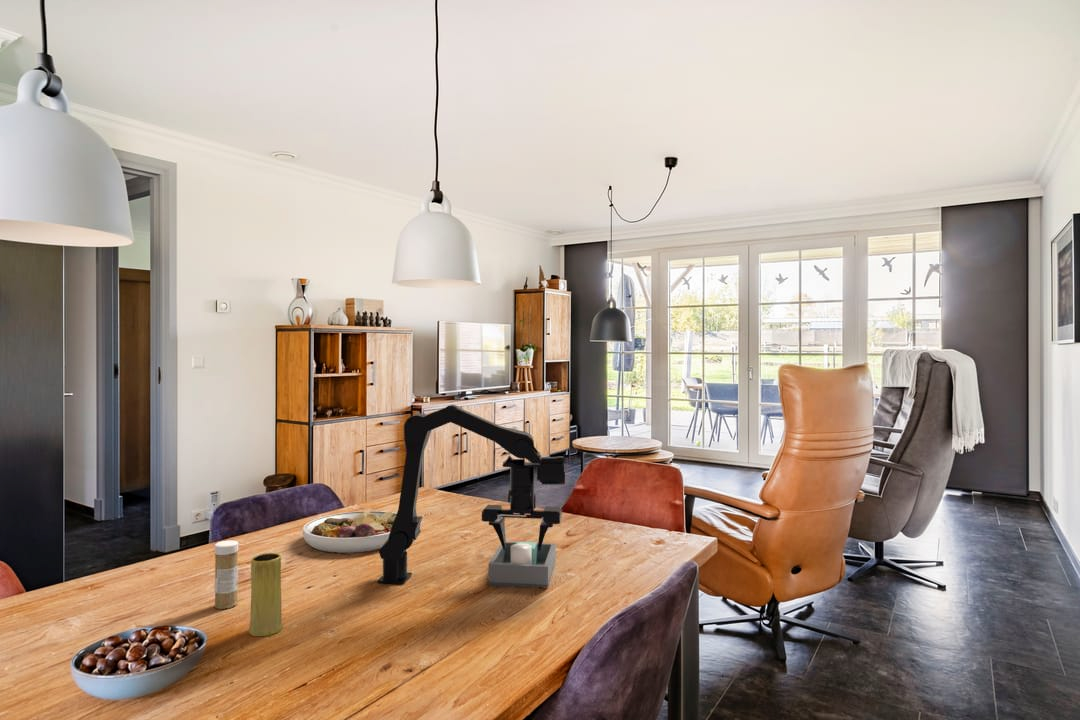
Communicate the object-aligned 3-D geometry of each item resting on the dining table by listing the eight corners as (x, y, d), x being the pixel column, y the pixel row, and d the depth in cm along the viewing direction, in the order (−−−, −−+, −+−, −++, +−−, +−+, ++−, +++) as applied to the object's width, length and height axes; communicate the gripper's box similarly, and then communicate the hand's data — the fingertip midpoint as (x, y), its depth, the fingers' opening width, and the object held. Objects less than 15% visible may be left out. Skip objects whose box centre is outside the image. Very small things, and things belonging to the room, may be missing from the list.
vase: (245, 639, 117) (246, 563, 117) (251, 625, 123) (252, 553, 123) (280, 635, 118) (280, 560, 118) (284, 622, 124) (285, 551, 124)
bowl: (297, 533, 187) (297, 507, 187) (396, 522, 201) (396, 497, 201) (309, 563, 161) (309, 532, 161) (422, 547, 174) (422, 519, 174)
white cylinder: (530, 579, 146) (529, 550, 146) (509, 579, 147) (509, 549, 147) (532, 572, 151) (532, 543, 151) (512, 571, 152) (512, 543, 152)
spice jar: (219, 601, 134) (219, 539, 134) (241, 601, 135) (241, 539, 135) (210, 610, 130) (210, 546, 130) (233, 609, 130) (233, 545, 130)
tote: (548, 588, 143) (548, 566, 143) (488, 585, 145) (488, 564, 145) (555, 562, 161) (555, 543, 161) (502, 560, 163) (502, 541, 163)
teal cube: (536, 562, 159) (537, 542, 159) (534, 568, 154) (534, 548, 154) (517, 561, 160) (517, 541, 160) (514, 567, 155) (514, 547, 155)
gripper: (563, 479, 156) (563, 541, 156) (490, 477, 158) (490, 538, 158) (559, 488, 145) (559, 555, 145) (481, 486, 147) (481, 552, 147)
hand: (521, 549), depth 149 cm, fingers open, 8 cm apart
